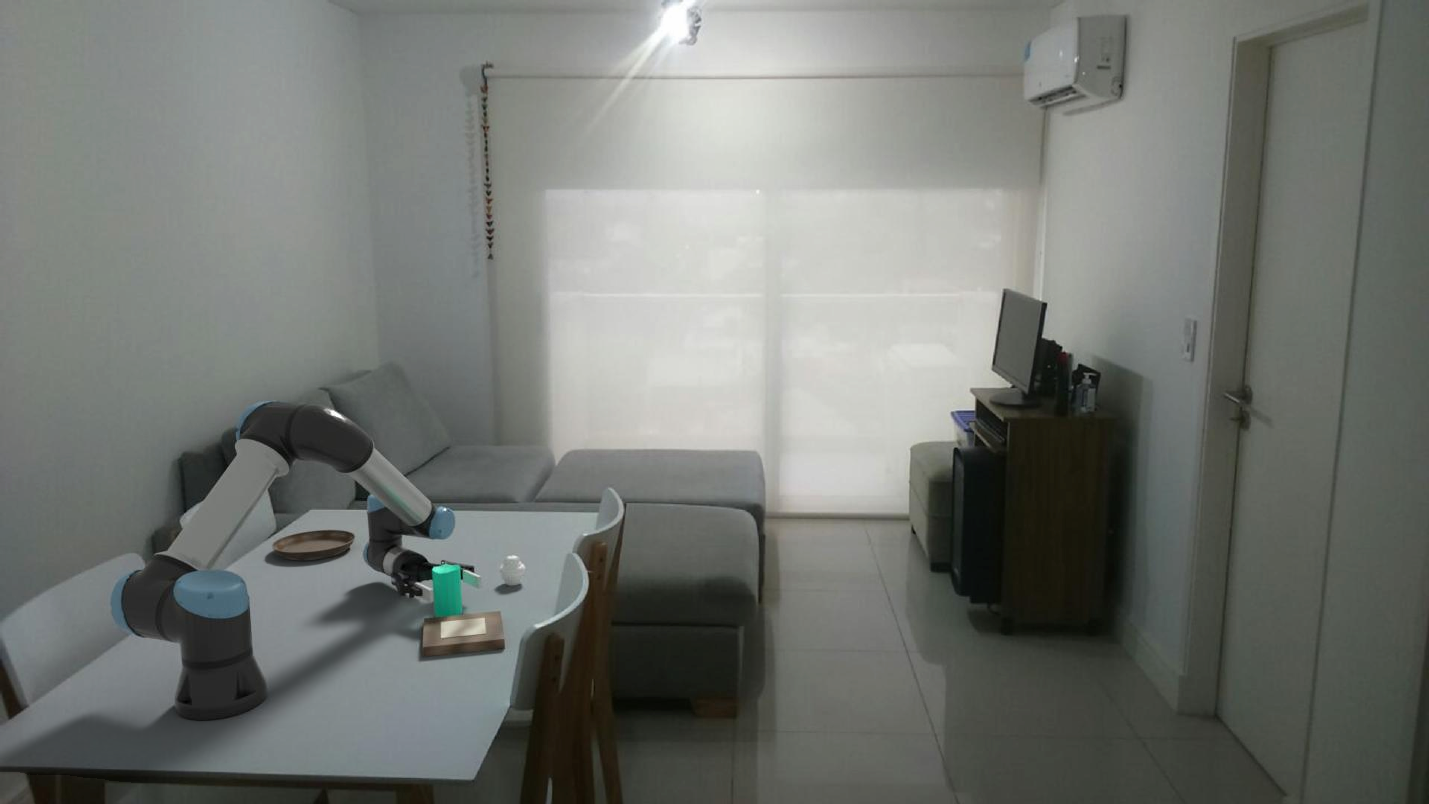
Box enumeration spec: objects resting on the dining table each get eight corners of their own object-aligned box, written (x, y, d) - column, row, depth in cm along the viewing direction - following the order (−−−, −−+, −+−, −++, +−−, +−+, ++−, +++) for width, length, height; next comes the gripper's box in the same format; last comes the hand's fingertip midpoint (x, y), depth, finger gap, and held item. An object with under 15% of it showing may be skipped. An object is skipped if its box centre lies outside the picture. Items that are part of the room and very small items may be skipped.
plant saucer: (270, 546, 285) (269, 534, 284) (351, 536, 293) (350, 524, 293) (274, 569, 266) (273, 556, 266) (360, 557, 275) (359, 545, 274)
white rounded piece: (529, 579, 256) (528, 551, 255) (522, 588, 250) (520, 559, 249) (504, 578, 257) (502, 551, 255) (496, 587, 251) (495, 559, 249)
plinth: (423, 656, 211) (422, 646, 211) (424, 627, 227) (424, 617, 226) (504, 648, 215) (504, 638, 215) (500, 619, 230) (500, 610, 230)
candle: (467, 613, 235) (465, 560, 233) (444, 620, 230) (441, 567, 228) (452, 606, 239) (449, 555, 237) (429, 613, 234) (426, 561, 232)
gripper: (452, 569, 255) (503, 592, 239) (359, 594, 239) (407, 619, 223) (450, 539, 253) (501, 560, 238) (357, 562, 237) (405, 585, 222)
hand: (456, 589), depth 230 cm, fingers open, 11 cm apart
